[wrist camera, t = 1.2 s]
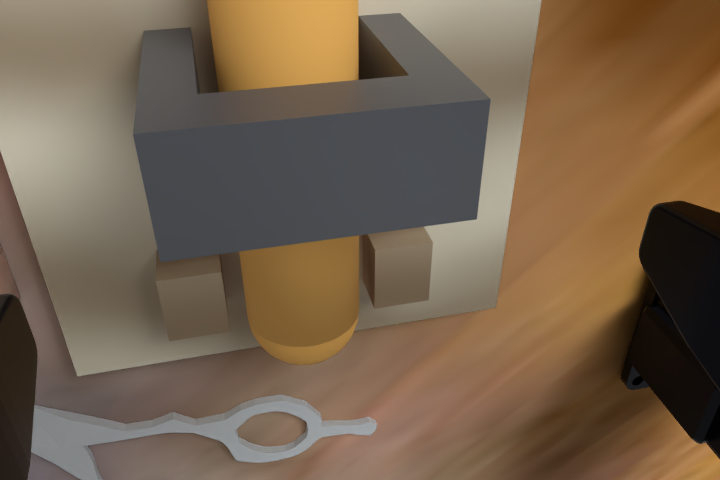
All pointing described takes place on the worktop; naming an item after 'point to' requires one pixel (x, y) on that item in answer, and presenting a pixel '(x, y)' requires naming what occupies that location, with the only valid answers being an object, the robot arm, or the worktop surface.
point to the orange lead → (311, 259)
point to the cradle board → (223, 271)
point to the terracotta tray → (6, 277)
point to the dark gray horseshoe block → (307, 147)
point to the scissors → (76, 431)
